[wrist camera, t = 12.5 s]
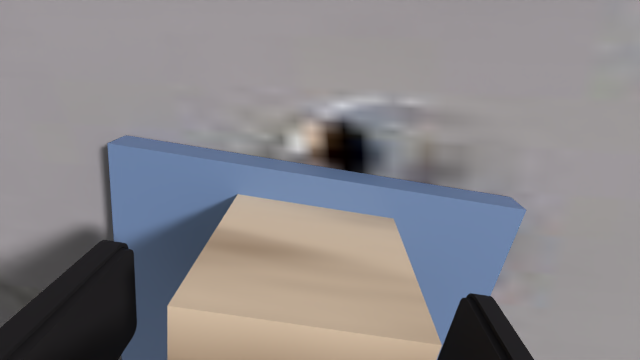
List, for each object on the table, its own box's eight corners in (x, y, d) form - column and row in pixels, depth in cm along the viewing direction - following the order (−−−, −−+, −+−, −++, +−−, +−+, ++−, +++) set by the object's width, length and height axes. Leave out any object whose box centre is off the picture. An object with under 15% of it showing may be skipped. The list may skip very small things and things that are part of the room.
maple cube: (361, 336, 13) (381, 504, 8) (227, 317, 13) (167, 477, 8) (393, 218, 11) (442, 345, 6) (237, 194, 11) (167, 305, 6)
